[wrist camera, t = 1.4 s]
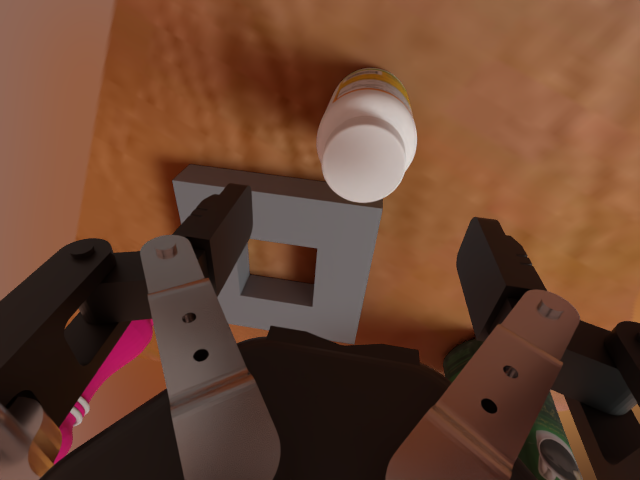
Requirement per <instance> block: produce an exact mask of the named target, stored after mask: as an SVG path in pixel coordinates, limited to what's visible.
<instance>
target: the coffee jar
mask: <svg viewBox="0 0 640 480" xmlns="http://www.w3.org/2000/svg"><path fill="white" fill-rule="evenodd" d="M483 343H484V341H479V340H476V339H473V340H470V341H466V342H464V343H462V344H460V345H458V346H457V347H456V348H454V349H453V350H452V351H451V352H450V353H449V354H448V355H447V356H446V357H445V359H444V362H443V367H444V373H445V377H446V378H447V379H448V380H449V381H451V382H453V381H454V380H455V379H456V377H457V376H458V375H459V373H460V372H461V371H462V370H463V368H464V367H465V366H466V364H467V363H468V362H469V361H470V359H471V358H472V357H473V355H474V354H475V353H476V352H477V350H478V349H479V348H480V346H481V345H482V344H483ZM518 458H519V459H520V460H521V461H522V462H523V463H524V464H525V466H526V467H527V468H528V469H529V470H530V471H531V473H532V474H533V475H534V476H535V477H536V478H537V479H538V480H583V478H582V476H581V473H580V471H579V468H578V466H577V463H576V461H575V458H574V455H573V453H572V450H571V448H570V445H569V442H568V439H567V437H566V434H565V432H564V429H563V426H562V423H561V421H560V418H559V416H558V413H557V410H556V407H555V404H554V401H553V398H552V396H551V393H550V392H549V394H548V396H547V398H546V400H545V402H544V404H543V406H542V408H541V410H540V412H539V414H538V416H537V418H536V420H535V422H534V424H533V426H532V428H531V430H530V432H529V435H528V437H527V439H526V441H525V443H524V445H523V447H522V449H521V451H520V453H519V455H518Z"/></svg>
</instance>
